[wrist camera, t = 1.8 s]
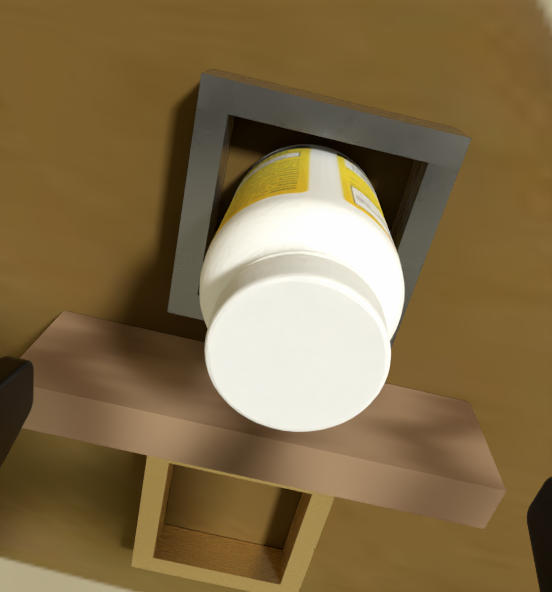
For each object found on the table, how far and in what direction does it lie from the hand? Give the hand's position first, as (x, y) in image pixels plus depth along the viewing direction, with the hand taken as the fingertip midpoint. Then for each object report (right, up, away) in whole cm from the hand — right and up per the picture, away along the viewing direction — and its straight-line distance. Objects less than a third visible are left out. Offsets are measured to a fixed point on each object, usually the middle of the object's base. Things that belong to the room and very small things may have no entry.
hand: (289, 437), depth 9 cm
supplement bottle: (+1, +6, +11) cm, 12 cm away
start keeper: (+1, +5, +11) cm, 12 cm away
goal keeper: (-2, -8, +18) cm, 19 cm away
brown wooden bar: (-1, -1, +14) cm, 14 cm away
